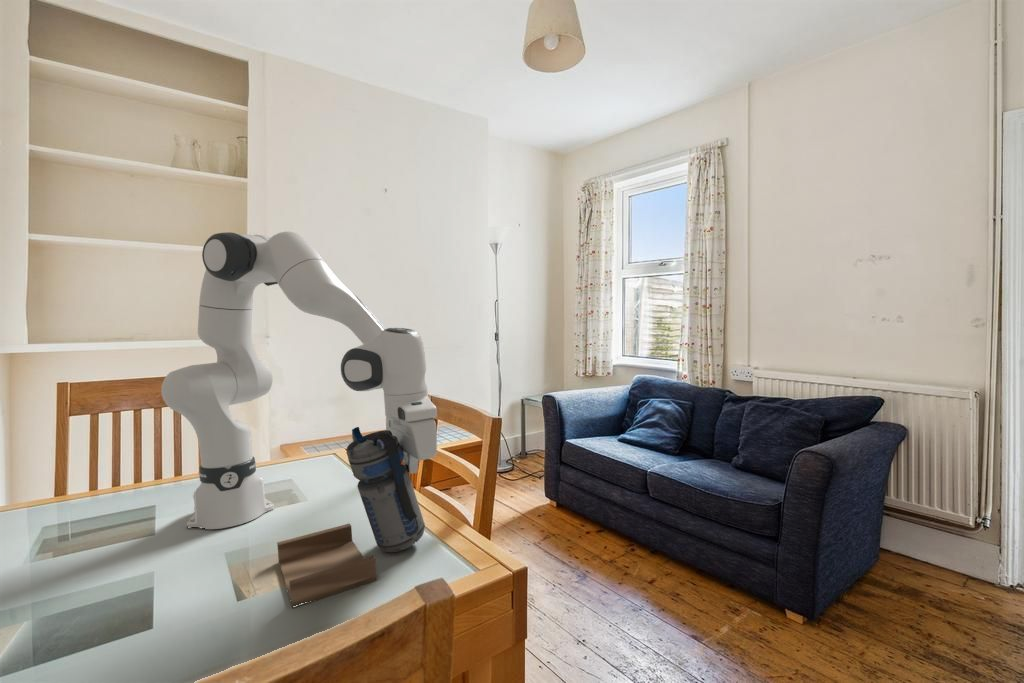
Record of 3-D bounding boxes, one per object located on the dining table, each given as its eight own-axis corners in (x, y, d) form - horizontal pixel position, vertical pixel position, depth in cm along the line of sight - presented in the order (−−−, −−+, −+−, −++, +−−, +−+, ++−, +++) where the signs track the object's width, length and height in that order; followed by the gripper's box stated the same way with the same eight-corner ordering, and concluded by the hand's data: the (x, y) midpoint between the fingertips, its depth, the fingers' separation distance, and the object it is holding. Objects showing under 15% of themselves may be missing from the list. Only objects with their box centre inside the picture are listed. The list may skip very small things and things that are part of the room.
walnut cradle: (278, 562, 95) (277, 542, 95) (350, 541, 102) (349, 523, 102) (292, 608, 79) (290, 584, 79) (376, 580, 86) (375, 558, 86)
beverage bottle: (405, 563, 91) (366, 444, 86) (367, 548, 100) (329, 438, 95) (443, 532, 98) (409, 420, 94) (405, 520, 107) (372, 417, 102)
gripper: (376, 402, 106) (381, 463, 107) (409, 414, 89) (414, 487, 89) (404, 398, 109) (408, 457, 110) (440, 409, 92) (445, 480, 93)
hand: (411, 471), depth 100 cm, fingers closed
